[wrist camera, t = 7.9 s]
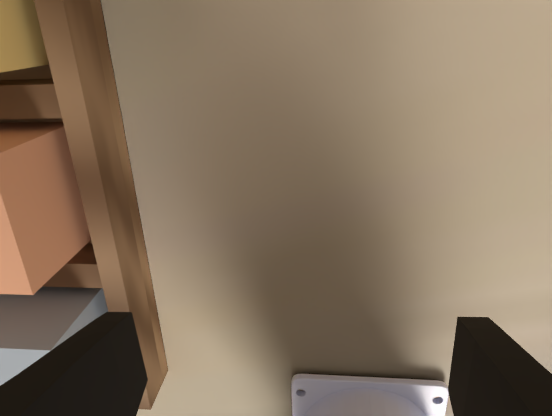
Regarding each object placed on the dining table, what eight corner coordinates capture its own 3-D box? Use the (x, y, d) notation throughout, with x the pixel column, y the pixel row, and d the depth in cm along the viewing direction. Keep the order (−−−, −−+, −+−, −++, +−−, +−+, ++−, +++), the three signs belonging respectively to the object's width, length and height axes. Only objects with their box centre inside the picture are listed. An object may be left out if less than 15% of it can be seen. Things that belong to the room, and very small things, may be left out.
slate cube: (129, 357, 22) (80, 443, 18) (40, 353, 23) (-29, 435, 19) (111, 276, 20) (50, 350, 16) (14, 274, 21) (-71, 344, 16)
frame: (167, 370, 24) (150, 409, 21) (30, 363, 25) (-1, 400, 22) (73, -147, 14) (24, -179, 12) (-143, -128, 15) (-227, -155, 13)
